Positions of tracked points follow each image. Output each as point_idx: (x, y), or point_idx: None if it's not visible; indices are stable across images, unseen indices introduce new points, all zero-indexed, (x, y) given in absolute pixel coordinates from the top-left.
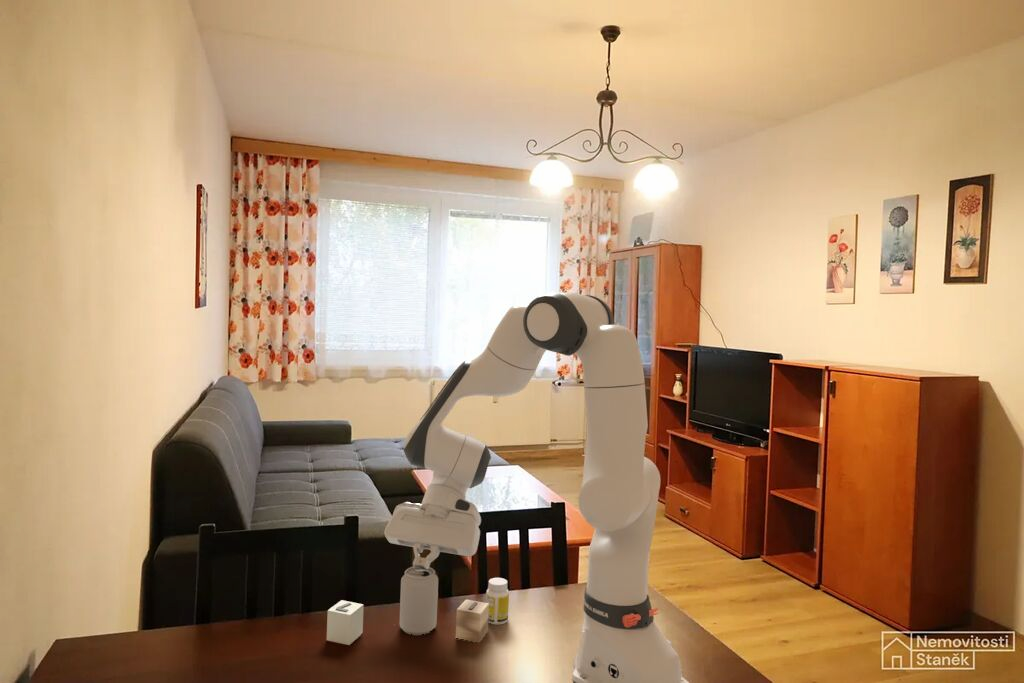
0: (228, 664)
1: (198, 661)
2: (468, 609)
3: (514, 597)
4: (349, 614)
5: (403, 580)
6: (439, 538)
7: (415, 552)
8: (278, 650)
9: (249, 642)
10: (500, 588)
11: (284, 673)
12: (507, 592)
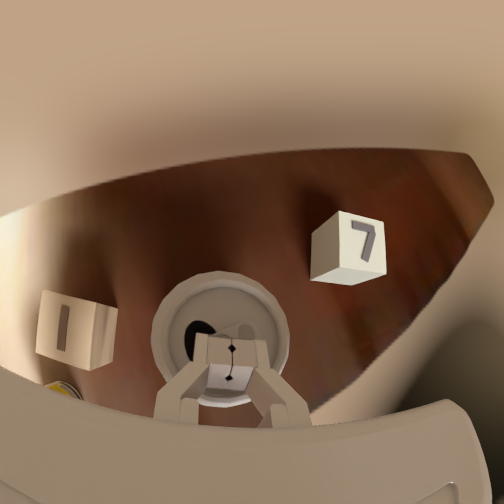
0: (404, 165)
1: (426, 170)
2: (69, 307)
3: None
4: (341, 213)
5: (271, 298)
6: (137, 451)
7: (279, 383)
8: (386, 200)
9: (421, 215)
10: None
11: (345, 149)
12: None
